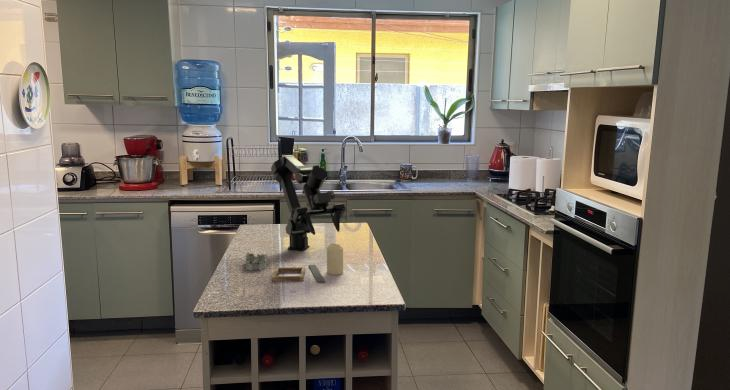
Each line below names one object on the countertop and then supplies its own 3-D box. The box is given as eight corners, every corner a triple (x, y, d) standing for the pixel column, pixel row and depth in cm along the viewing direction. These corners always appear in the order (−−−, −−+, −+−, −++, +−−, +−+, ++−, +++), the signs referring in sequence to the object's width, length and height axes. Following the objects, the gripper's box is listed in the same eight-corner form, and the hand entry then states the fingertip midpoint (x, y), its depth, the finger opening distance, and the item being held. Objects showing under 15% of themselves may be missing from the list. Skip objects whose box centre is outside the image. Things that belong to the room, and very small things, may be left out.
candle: (345, 270, 177) (345, 242, 176) (339, 275, 172) (339, 247, 171) (330, 269, 179) (330, 241, 177) (324, 274, 174) (324, 245, 172)
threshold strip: (325, 282, 166) (325, 281, 166) (317, 283, 165) (317, 281, 165) (315, 265, 183) (315, 264, 183) (308, 266, 182) (308, 265, 182)
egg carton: (247, 262, 188) (246, 251, 187) (268, 261, 189) (267, 250, 188) (243, 271, 178) (243, 259, 177) (265, 270, 178) (265, 259, 178)
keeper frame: (276, 271, 176) (276, 267, 176) (305, 271, 177) (305, 267, 177) (272, 281, 167) (272, 277, 166) (303, 281, 167) (303, 276, 167)
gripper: (294, 185, 176) (307, 222, 169) (343, 181, 185) (358, 217, 178) (287, 203, 185) (299, 240, 177) (334, 199, 193) (348, 234, 186)
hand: (326, 232), depth 179 cm, fingers open, 9 cm apart
